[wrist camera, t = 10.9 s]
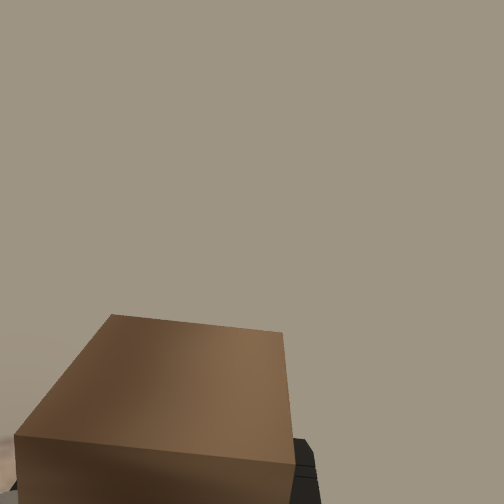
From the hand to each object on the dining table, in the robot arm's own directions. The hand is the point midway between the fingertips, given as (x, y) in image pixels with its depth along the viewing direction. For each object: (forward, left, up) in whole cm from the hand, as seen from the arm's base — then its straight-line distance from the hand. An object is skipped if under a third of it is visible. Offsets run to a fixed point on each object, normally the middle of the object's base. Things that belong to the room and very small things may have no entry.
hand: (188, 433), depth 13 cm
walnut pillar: (-1, +3, -6) cm, 7 cm away
